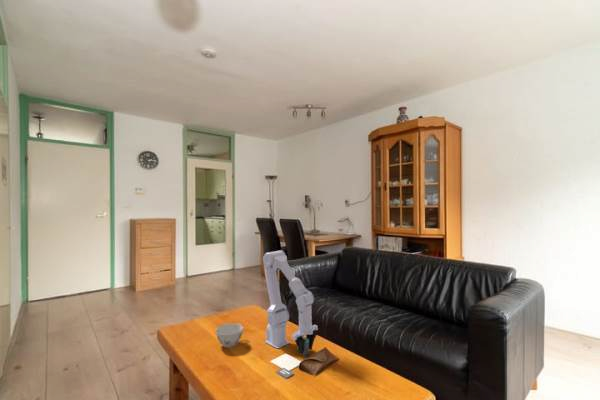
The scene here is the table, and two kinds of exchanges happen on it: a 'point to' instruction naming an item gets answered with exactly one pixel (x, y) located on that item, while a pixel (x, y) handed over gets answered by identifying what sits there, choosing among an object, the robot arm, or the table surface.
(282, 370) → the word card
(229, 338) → the teacup
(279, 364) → the paper
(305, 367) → the sunglasses case
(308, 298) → the robot arm
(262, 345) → the table surface
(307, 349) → the marker
